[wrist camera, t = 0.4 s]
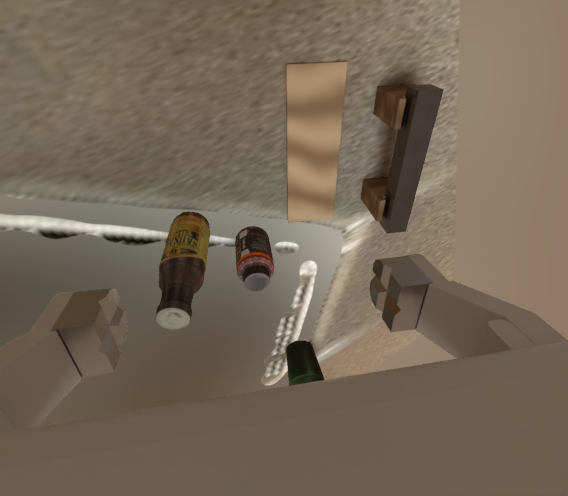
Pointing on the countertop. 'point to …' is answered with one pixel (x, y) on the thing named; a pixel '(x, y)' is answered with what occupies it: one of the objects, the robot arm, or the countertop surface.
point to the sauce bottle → (182, 268)
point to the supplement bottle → (254, 258)
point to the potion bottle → (302, 364)
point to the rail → (409, 154)
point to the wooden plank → (313, 137)
